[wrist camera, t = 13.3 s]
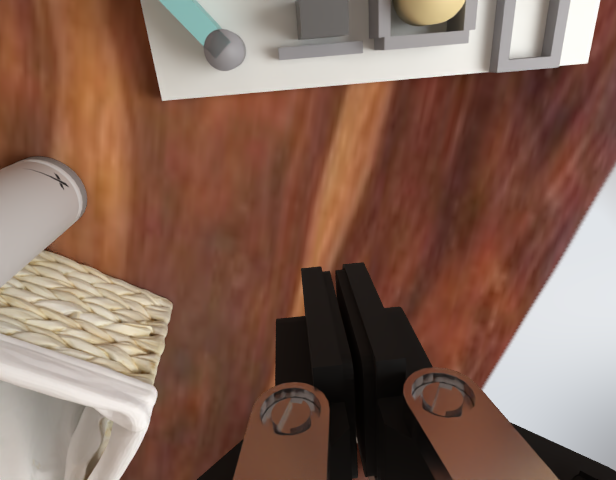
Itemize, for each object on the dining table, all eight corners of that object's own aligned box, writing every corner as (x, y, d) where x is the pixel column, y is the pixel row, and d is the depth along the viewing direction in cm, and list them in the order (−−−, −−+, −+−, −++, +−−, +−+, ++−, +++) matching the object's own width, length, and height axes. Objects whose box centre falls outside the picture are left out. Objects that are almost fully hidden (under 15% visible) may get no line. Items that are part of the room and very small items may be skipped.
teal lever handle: (252, 51, 29) (250, 50, 26) (230, 75, 30) (224, 79, 26) (153, -57, 26) (134, -75, 23) (130, -27, 27) (108, -40, 23)
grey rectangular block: (339, 36, 29) (349, 34, 26) (298, 39, 29) (301, 38, 26) (338, -2, 28) (348, -10, 25) (295, 1, 28) (298, -6, 25)
